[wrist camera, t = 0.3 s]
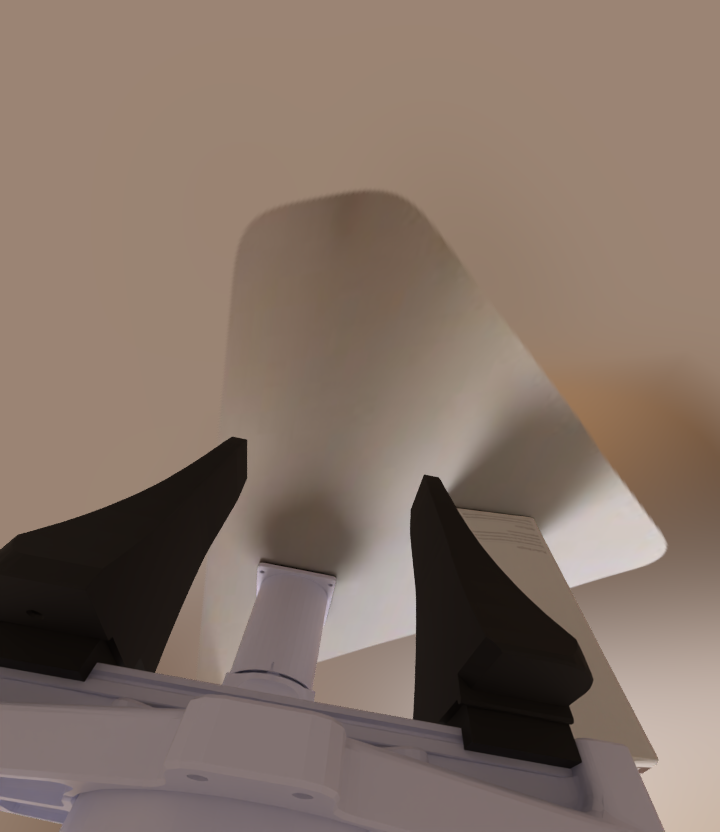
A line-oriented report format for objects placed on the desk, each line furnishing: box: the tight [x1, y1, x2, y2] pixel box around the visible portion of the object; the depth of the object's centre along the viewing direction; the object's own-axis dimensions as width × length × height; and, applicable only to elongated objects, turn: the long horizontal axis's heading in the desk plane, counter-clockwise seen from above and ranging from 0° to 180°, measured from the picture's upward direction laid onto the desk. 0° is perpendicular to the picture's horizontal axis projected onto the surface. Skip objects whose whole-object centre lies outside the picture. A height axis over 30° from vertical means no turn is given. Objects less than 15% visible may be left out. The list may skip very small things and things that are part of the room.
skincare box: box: [457, 508, 658, 775], centre depth 22 cm, size 8×6×15 cm
